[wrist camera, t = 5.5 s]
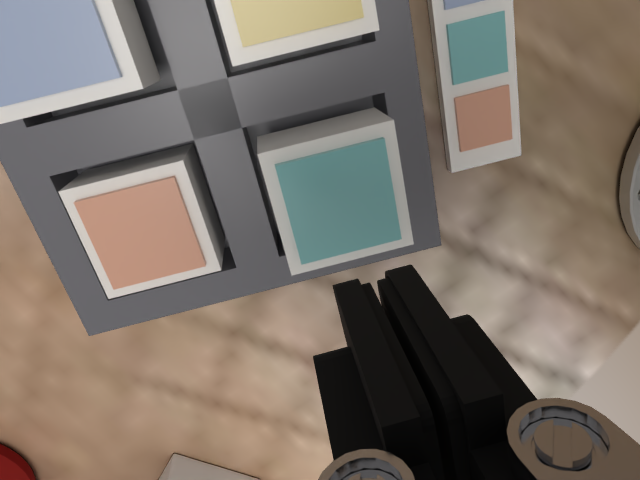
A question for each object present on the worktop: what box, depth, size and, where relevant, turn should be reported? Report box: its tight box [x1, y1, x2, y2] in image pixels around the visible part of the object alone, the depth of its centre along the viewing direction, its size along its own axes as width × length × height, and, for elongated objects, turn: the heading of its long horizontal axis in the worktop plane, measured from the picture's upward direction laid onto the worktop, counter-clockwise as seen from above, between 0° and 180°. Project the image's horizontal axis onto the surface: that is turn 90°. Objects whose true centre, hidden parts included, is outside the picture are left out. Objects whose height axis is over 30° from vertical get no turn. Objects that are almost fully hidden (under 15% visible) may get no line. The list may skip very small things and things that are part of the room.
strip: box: [427, 0, 521, 173], centre depth 22 cm, size 4×11×1 cm, turn 13°
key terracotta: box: [58, 144, 226, 299], centre depth 22 cm, size 5×5×4 cm
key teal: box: [257, 107, 414, 275], centre depth 20 cm, size 5×5×4 cm
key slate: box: [0, 0, 161, 124], centre depth 16 cm, size 5×5×4 cm
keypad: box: [0, 0, 441, 336], centre depth 21 cm, size 17×17×3 cm
